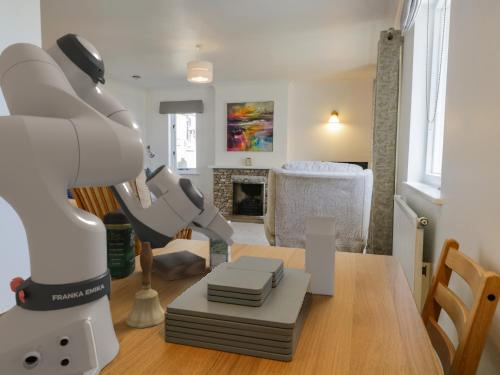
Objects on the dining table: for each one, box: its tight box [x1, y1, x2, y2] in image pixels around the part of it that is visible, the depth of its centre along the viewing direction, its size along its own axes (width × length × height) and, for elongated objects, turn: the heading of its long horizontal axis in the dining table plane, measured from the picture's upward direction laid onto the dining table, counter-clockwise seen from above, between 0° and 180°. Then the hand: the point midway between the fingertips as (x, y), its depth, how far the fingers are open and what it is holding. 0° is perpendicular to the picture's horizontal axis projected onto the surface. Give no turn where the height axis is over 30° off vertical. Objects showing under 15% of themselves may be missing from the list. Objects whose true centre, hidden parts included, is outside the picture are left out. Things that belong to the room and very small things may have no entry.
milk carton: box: [304, 214, 337, 296], centre depth 88 cm, size 7×7×19 cm
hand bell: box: [125, 242, 166, 329], centre depth 71 cm, size 8×8×16 cm
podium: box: [150, 249, 207, 282], centre depth 102 cm, size 12×12×4 cm
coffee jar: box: [102, 208, 137, 279], centre depth 99 cm, size 10×8×19 cm
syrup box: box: [208, 220, 232, 272], centre depth 104 cm, size 6×6×14 cm
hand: (222, 241), depth 104 cm, fingers closed on syrup box, 8 cm apart
